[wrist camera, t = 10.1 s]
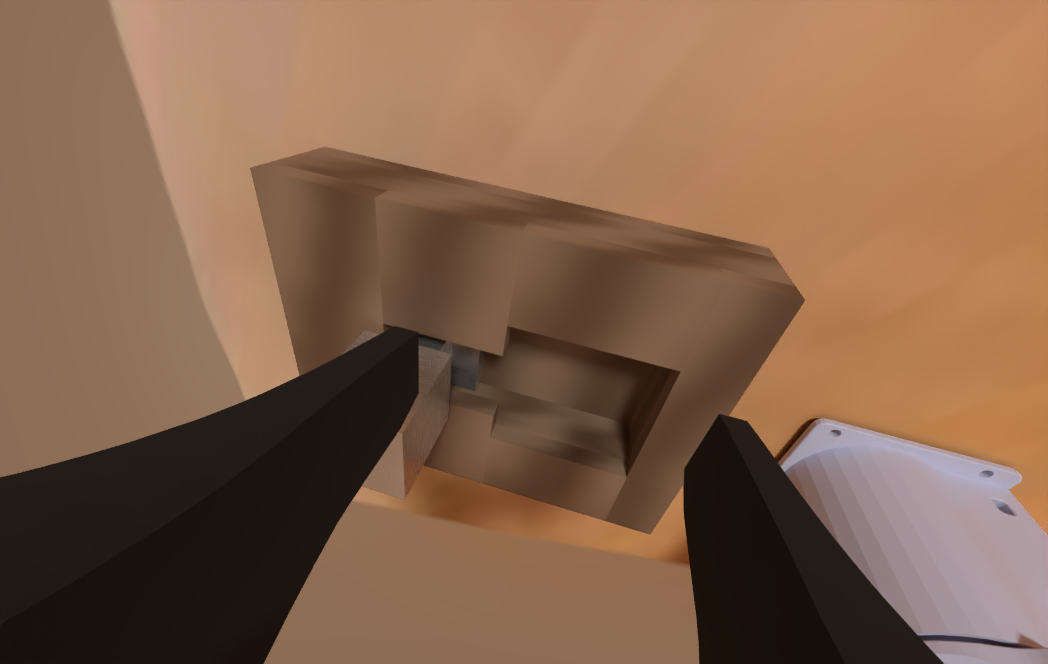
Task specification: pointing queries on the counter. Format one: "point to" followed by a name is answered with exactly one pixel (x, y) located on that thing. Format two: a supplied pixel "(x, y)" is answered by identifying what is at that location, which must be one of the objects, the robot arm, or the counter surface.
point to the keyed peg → (424, 411)
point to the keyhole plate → (531, 321)
